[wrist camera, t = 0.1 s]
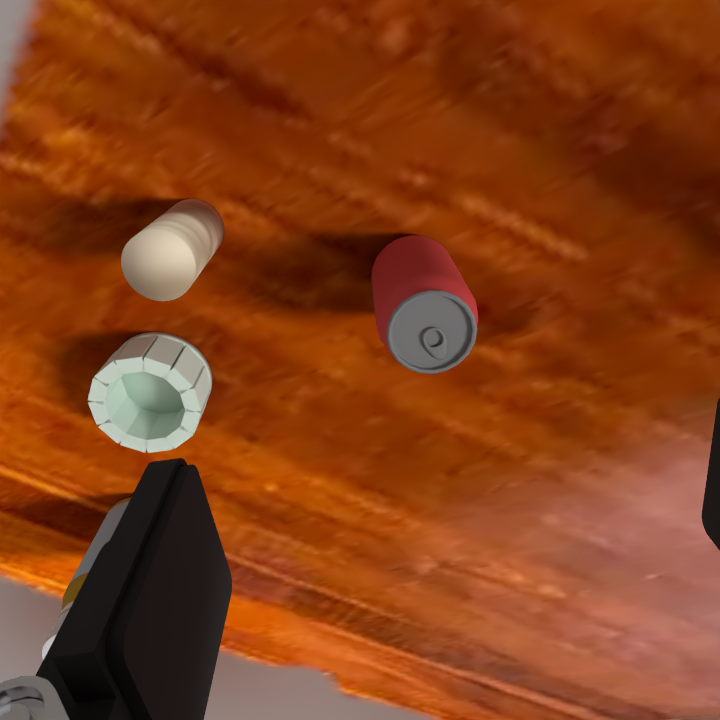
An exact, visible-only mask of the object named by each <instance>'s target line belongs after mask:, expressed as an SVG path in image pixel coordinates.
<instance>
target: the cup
mask: <svg viewBox="0 0 720 720" xmlns="http://www.w3.org/2000/svg"><path fill="white" fill-rule="evenodd" d="M211 389H212V373H211V369H210V367H209V364H208V362H207V360H206V359H205V357H204V356H203V354H202V353H201V352H200V351H199V350H198V349H197V348H196V347H195V346H194V345H193V344H191V343H190V342H188V341H187V340H185V339H183V338H181V337H179V336H176V335H173V334H170V333H165V332H147V333H142V334H139V335H136V336H134V337H132V338H130V339H129V340H127V341H126V342H125V343H124V344H123V345H122V346H121V347H120V348H119V349H118V350H117V351H116V352H114V353H113V354H112V355H111V357H110V358H109V359H108V360H107V362H106V363H105V364H104V365H103V366H102V368H101V369H100V370H99V371H98V372H97V374H96V375H95V376H94V378H93V380H92V384H91V388H90V392H89V397H88V400H89V402H88V404H89V407H90V409H91V412H92V414H93V417H94V420H95V422H96V425H97V424H100V425H99V428H100V429H101V430H102V431H104V432H105V433H106V434H107V435H108V436H109V437H110V438H112V439H113V440H114V441H115V442H116V443H119V442H120V441H121V444H120V445H122V446H125V447H128V448H132V449H135V450H138V451H142V452H146V450H147V451H148V453H150V452H158V451H166V450H172V449H173V447H174V448H176V447H178V446H179V445H181V444H182V443H183V442H185V441H186V440H187V439H189V438H190V437H191V436H193V434H194V433H195V430H196V428H197V426H198V423H199V421H200V418H201V416H202V414H203V411H204V409H205V406H206V403H207V400H208V398H209V395H210V393H211Z"/></svg>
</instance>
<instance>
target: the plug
mask: <svg viewBox="0 0 720 720" xmlns="http://www.w3.org/2000/svg"><path fill="white" fill-rule="evenodd" d="M224 232H225V231H224V223H223V220H222V218H221V216H220V214H219V213H218V212H217V210H216V209H215V208H214V207H213V206H211V205H210V204H208V203H207V202H205V201H202V200H199V199H186V200H182V201H180V202H178V203H177V204H175V205H174V206H173V207H171V208H170V209H169V210H167V211H166V212H165V213H164V214H162V215H161V216H160V217H158V218H157V219H156V220H155V221H153V222H152V223H151V224H149V225H148V226H147V227H146V228H144V229H143V230H142V231H140V232H139V233H138V234H137V235H135V236H134V237H133V238H131V239H130V240H129V241H128V243H127V244H126V245H125V247H124V249H123V252H122V257H121V266H122V271H123V274H124V276H125V278H126V280H127V281H128V283H129V284H130V285H131V287H132V288H133V289H134V290H135V291H137V292H138V293H139V294H141V295H143V296H144V297H147V298H149V299H152V300H157V301H169V300H173V299H176V298H178V297H180V296H182V295H183V294H184V293H185V292H186V291H187V290H188V289H189V288H190V286H191V285H192V284H193V282H194V281H195V280H196V278H197V277H198V275H199V274H200V273H201V271H202V270H203V268H204V267H205V266H206V264H207V263H208V262H209V260H210V259H211V257H212V256H213V255H214V253H215V252H216V250H217V249H218V248H219V246H220V245H221V243H222V241H223V238H224Z"/></svg>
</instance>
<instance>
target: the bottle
mask: <svg viewBox="0 0 720 720" xmlns="http://www.w3.org/2000/svg"><path fill="white" fill-rule="evenodd" d="M130 499H131V497H129V498H126V499H123V500H120V501H119V502H117V503H116V504H115V505H113V506H112V507H111V509H110V511H109V512H108V514H107V515H106V517H105V519H104V521H103V523H102V524H101V526H100V528H99V530H98V532H97V534H96V536H95V537H94V539H93V541H92V543H91V545H90V547H89V549H88V550H87V552H86V554H85V556H84V558H83V560H82V562H81V563H80V565H79V567H78V569H77V571H76V573H75V575H74V576H73V578H72V580H71V582H70V584H69V586H68V588H67V590H66V592H65V594H64V596H63V605H62V611H61V613H60V615H59V617H58V619H57V620H56V622H55V624H54V626H53V628H52V629H51V631H50V633H49V635H48V637H47V639H46V641H45V643H44V645H43V651H42V657H43V660H44V658H45V656H46V654H47V652H48V650H49V649H50V647H51V645H52V643H53V641H54V639H55V637H56V635H57V633H58V631H59V629H60V627H61V625H62V623H63V621H64V619H65V617H66V616H67V614H68V612H69V610H70V608H71V606H72V604H73V602H74V600H75V598H76V596H77V594H78V592H79V590H80V588H81V586H82V584H83V583H84V581H85V579H86V577H87V575H88V573H89V571H90V569H91V567H92V565H93V563H94V561H95V559H96V557H97V555H98V553H99V551H100V550H101V548H102V547H103V546H104V544H105V543H107V542H109V541H110V539H111V537H112V535H113V533H114V531H115V529H116V527H117V525H118V523H119V521H120V519H121V517H122V515H123V513H124V511H125V509H126V507H127V505H128V503H129V501H130Z"/></svg>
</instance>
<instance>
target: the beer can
mask: <svg viewBox="0 0 720 720" xmlns="http://www.w3.org/2000/svg"><path fill="white" fill-rule="evenodd" d="M371 284H372V292H373V300H374V309H375V317H376V325H377V329H378V333H379V336H380V340H381V341H382V342H383V344H384V345H385V347H386V348H387V350H388V351H389V353H390V354H391V355H392V356H394V357H395V359H396V360H397V361H398V362H399V363H400V364H402V365H403V366H404V367H406V368H407V369H410V370H413V371H415V372H418V373H430V374H434V373H438V372H443V371H447V370H449V369H450V368H452V367H454V366H456V365H458V364H459V363H460V362H461V361H462V360H463V359H464V358H465V357H466V356H467V355H468V354H469V352H470V350H471V349H472V347H473V345H474V343H475V338H476V332H477V323H478V312H477V306H476V301H475V299H474V297H473V296H472V294H471V292H470V290H469V289H468V287H467V285H466V283H465V281H464V280H463V278H462V276H461V274H460V273H459V271H458V269H457V267H456V266H455V264H454V262H453V260H452V259H451V257H450V255H449V253H448V252H447V250H446V249H445V248H444V247H443V246H442V245H440V244H439V243H438V242H437V241H435V240H433V239H430V238H428V237H425V236H414V235H410V236H406V237H402V238H398V239H396V240H394V241H393V242H391V243H390V244H388V245H386V246H385V247H384V249H383V250H382V251H381V252H380V253H379V254H378V256H377V257H376V260H375V262H374V265H373V267H372V275H371Z"/></svg>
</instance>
